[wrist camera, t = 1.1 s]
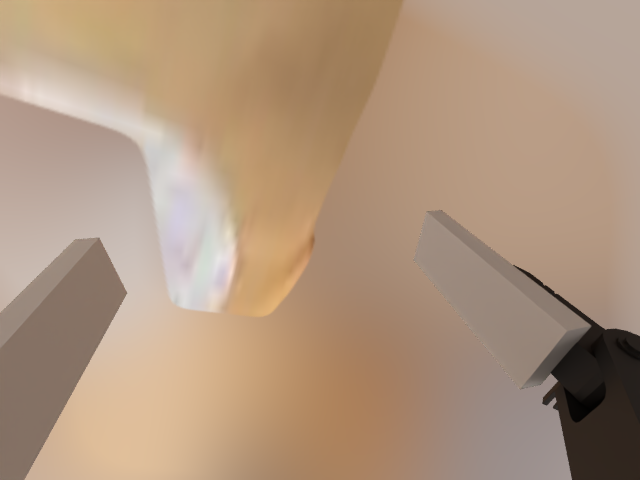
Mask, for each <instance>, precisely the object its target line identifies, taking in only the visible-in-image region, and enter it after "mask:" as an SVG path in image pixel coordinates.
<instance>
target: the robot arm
mask: <svg viewBox="0 0 640 480" xmlns="http://www.w3.org/2000/svg"><path fill="white" fill-rule="evenodd" d="M414 261H415V262H416V263H417V265H418V266H419V267H420V268H421V270H422V271H423V272H424V273H425V275H426V276H427V277H428V278H429V279H430V281H431V282H432V283H433V284H434V286H436V288H437V289H438V290H439V291H440V293H441V294H442V295H443V296H444V298H445V299H446V300H447V301H448V303H449V304H450V305H451V306H452V307H453V309H454V310H455V311H456V312H457V313H458V315H459V316H460V317H461V318H462V320H463V321H464V322H465V323H466V324H467V326H468V327H469V328H470V329H471V331H472V332H473V333H474V334H475V335H476V337H477V338H478V339H479V340H480V341H481V343H482V344H483V345H484V346H485V348H486V349H487V350H488V351H489V352H490V354H491V355H492V356H493V357H494V358H495V360H496V361H497V362H498V363H499V364H500V366H501V367H502V368H503V369H504V371H505V372H506V373H507V374H508V376H509V377H510V378H511V379H512V380H513V382H514V383H515V384H516V385H517V387H518V388H519V389H524V388H528V387H533V386H537V385H541V384H542V383H543V381H544V380H545V379H546V378H547V377H548V376H549V375H550V373H551V374H552V375H553V376H554V377H555V378H556V379H557V380H558V382H557V383H556V384H555V385H554V386H553V387H552V389H551V390H550V391H549V392H548V393H547V394H546V395H545V396H544V397H543V404H544V405H548V404H549V403H550V401H552V399H553V398H554V397H555V398H556V401H557V403H556V404H555V405H554V406H553V408H554V409H556V410H558V411H559V416H560V420H561V426H562V431H563V436H564V441H565V446H566V451H567V456H568V461H569V466H570V471H571V476H572V480H640V336H638V335H636V334H633V333H631V332H628V331H624V330H619V329H607V330H605V329H604V328H602V327H601V326H599V325H598V324H597V323H595V322H594V321H593V320H591V319H590V318H589V317H587V316H586V315H585V314H583V313H582V312H581V311H579V310H578V309H577V308H575V307H574V306H573V305H571V304H570V303H569V302H568V301H566V300H565V299H564V298H562V297H561V296H560V295H558V294H555V293H554V291H553V290H551V289H550V288H549V287H548V286H546V285H545V286H544V285H543V283H542V282H541V281H540V280H538V279H537V278H536V277H534V276H533V275H532V274H530V273H529V272H527V271H525V270H523V269H521V268H519V267H517V266H515V265H512V264H511V263H509V262H508V261H507V260H505V259H504V258H503V257H501V256H500V255H499V254H498V253H496V252H495V251H494V250H492V249H491V248H490V247H488V246H487V245H486V244H485V243H483V242H482V241H481V240H479V239H478V238H477V237H475V236H474V235H473V234H472V233H470V232H469V231H468V230H466V229H465V228H464V227H463V226H461V225H460V224H459V223H457V222H456V221H455V220H453V219H452V218H451V217H450V216H448V215H447V214H446V213H445V212H443V211H442V210H439V211H427V212H426V216H425V219H424V223H423V227H422V230H421V234H420V238H419V242H418V245H417V249H416V253H415V256H414ZM126 294H127V292H126V290H125V288H124V286H123V284H122V282H121V280H120V278H119V276H118V274H117V272H116V270H115V268H114V266H113V264H112V262H111V260H110V258H109V256H108V254H107V252H106V250H105V248H104V247H103V244H102V242H101V240H100V238H89V239H76V240H74V241H73V242H72V243H71V244H70V245H69V246H68V247H67V248H66V249H65V250H64V251H63V252H62V253H61V254H60V255H59V256H58V257H57V258H56V259H55V260H54V261H53V262H52V263H51V264H50V265H49V266H48V267H47V268H45V270H43V271H42V273H40V274H39V275H38V276H37V277H36V278H35V279H34V280H33V281H32V282H31V283H30V284H29V285H28V286H27V287H26V288H25V289H24V290H23V291H22V292H21V293H20V294H19V295H18V296H17V297H16V298H15V299H14V300H13V301H12V302H11V303H10V304H9V305H8V306H7V307H6V308H5V309H4V310H3V311H2V312H1V313H0V480H24V479H25V478H26V476H27V474H28V472H29V470H30V469H31V467H32V465H33V463H34V461H35V459H36V458H37V456H38V454H39V452H40V450H41V449H42V447H43V445H44V443H45V441H46V439H47V438H48V436H49V434H50V432H51V430H52V429H53V427H54V425H55V423H56V421H57V419H58V418H59V416H60V414H61V412H62V410H63V409H64V407H65V405H66V403H67V401H68V399H69V398H70V396H71V394H72V392H73V391H74V389H75V387H76V385H77V383H78V381H79V380H80V378H81V376H82V374H83V372H84V371H85V369H86V367H87V365H88V363H89V362H90V360H91V358H92V356H93V354H94V352H95V351H96V348H97V347H98V345H99V343H100V341H101V340H102V338H103V336H104V334H105V333H106V331H107V329H108V327H109V325H110V323H111V321H112V320H113V318H114V316H115V314H116V313H117V311H118V309H119V307H120V305H121V304H122V302H123V300H124V298H125V296H126Z"/></svg>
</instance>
